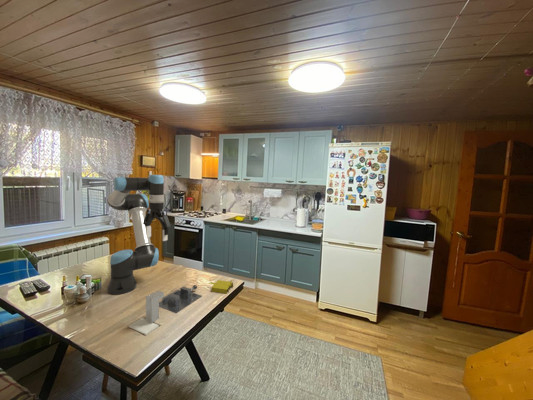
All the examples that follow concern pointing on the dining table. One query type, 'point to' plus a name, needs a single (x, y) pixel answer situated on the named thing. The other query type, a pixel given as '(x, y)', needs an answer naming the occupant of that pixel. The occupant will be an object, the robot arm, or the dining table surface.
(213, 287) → the bracket
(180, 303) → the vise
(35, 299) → the dining table surface
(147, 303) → the gray rectangular block
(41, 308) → the dining table surface
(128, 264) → the robot arm
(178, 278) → the dining table surface
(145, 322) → the mat
